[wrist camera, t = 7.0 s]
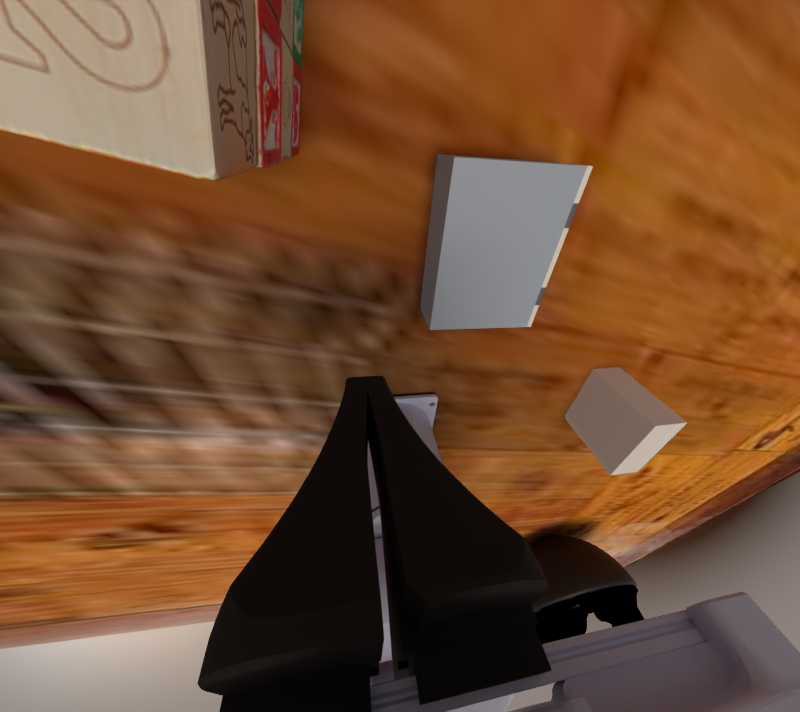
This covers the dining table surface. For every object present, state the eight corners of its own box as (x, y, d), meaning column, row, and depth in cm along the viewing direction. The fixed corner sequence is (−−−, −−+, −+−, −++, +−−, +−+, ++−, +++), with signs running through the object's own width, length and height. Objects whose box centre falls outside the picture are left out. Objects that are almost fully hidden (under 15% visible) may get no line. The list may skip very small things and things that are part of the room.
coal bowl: (597, 536, 61) (678, 662, 46) (510, 567, 65) (560, 693, 50) (592, 504, 49) (699, 661, 34) (485, 544, 53) (541, 701, 38)
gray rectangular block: (530, 326, 19) (429, 329, 18) (510, 306, 21) (419, 307, 20) (593, 166, 14) (454, 156, 13) (556, 162, 16) (437, 154, 15)
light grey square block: (587, 414, 32) (637, 471, 27) (563, 417, 32) (610, 475, 26) (619, 367, 28) (687, 422, 23) (593, 368, 28) (655, 426, 22)
